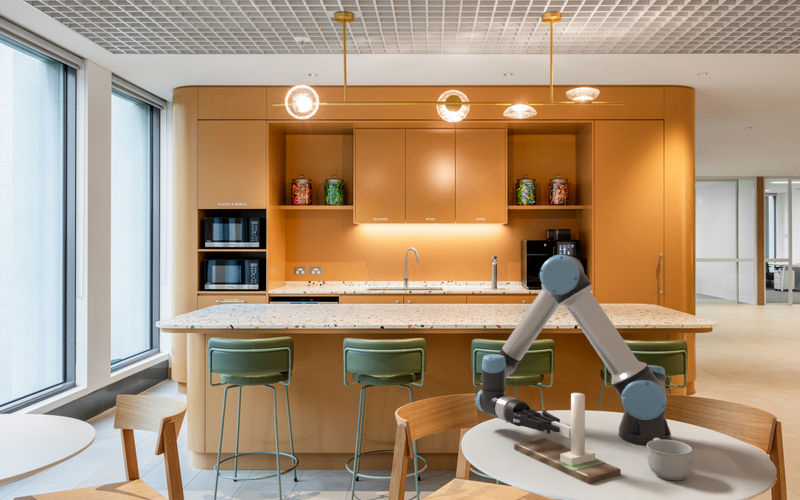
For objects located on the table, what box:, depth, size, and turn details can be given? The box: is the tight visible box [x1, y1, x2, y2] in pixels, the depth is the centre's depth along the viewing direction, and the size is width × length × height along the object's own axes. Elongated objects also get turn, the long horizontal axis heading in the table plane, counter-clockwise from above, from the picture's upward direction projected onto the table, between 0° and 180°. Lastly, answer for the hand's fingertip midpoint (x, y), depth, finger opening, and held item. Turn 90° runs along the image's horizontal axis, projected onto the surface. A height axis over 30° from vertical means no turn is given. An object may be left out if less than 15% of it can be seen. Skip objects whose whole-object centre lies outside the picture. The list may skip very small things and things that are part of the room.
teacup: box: [646, 438, 693, 481], centre depth 148 cm, size 14×11×8 cm
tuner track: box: [513, 437, 622, 485], centre depth 156 cm, size 28×12×2 cm, turn 30°
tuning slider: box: [560, 392, 596, 466], centre depth 152 cm, size 4×9×18 cm, turn 120°
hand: (570, 432), depth 153 cm, fingers closed
